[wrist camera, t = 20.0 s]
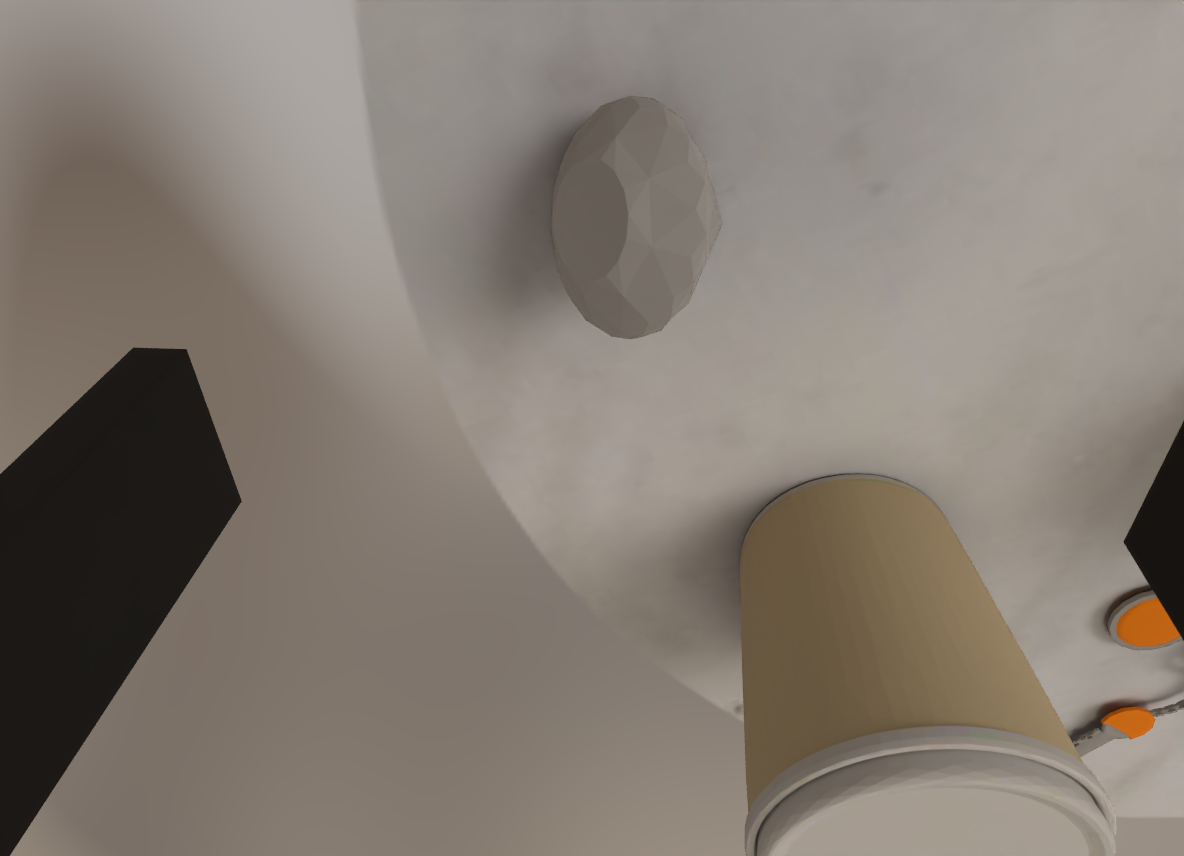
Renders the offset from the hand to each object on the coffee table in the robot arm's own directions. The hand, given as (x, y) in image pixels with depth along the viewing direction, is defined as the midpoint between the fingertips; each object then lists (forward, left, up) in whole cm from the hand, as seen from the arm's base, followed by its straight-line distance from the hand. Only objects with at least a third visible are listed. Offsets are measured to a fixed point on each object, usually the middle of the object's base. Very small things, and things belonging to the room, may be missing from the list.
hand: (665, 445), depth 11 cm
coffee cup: (+15, +7, -14) cm, 22 cm away
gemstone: (+1, -1, -14) cm, 14 cm away
